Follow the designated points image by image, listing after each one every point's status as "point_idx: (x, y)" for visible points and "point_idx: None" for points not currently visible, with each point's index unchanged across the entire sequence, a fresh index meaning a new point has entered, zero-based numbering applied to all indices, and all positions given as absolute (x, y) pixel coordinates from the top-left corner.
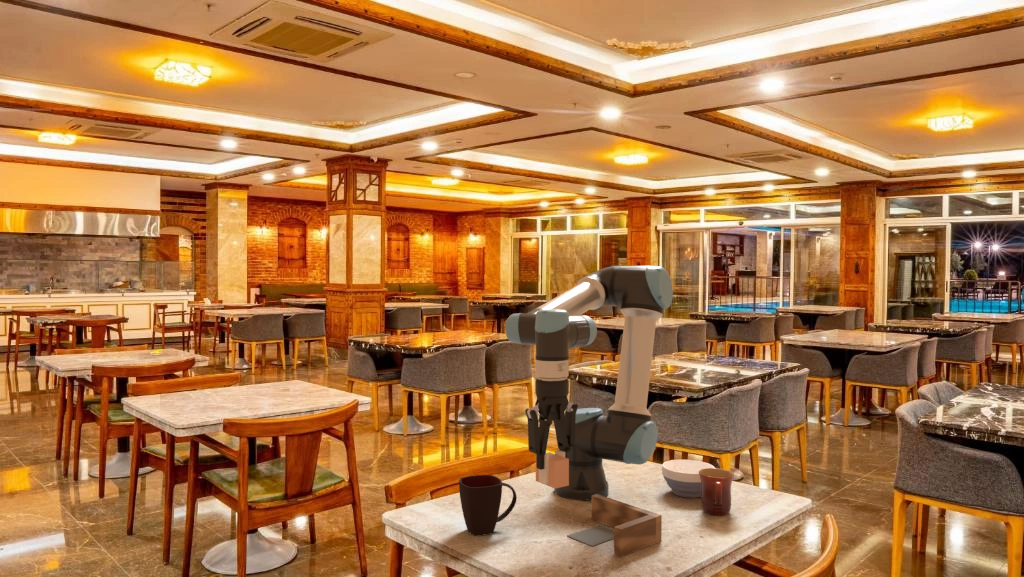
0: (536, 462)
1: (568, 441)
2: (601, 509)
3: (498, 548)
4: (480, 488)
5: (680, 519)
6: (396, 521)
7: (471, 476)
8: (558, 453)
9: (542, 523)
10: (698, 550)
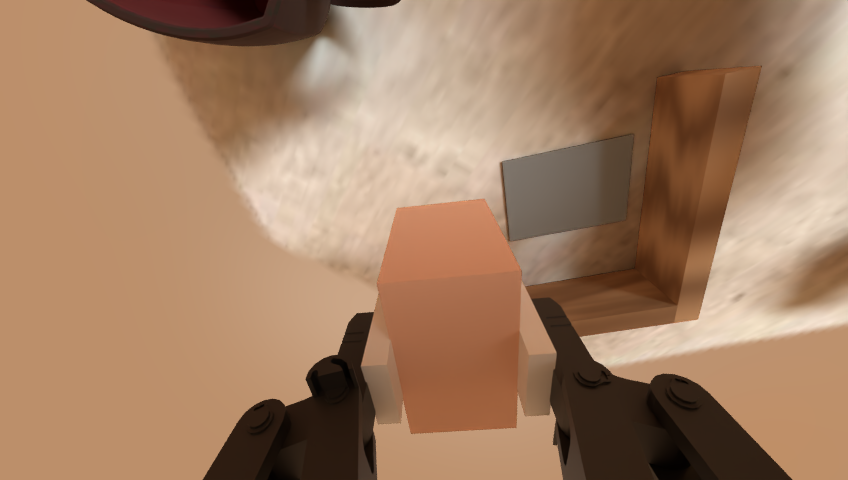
0: (343, 338)
1: (670, 451)
2: (683, 127)
3: (304, 147)
4: (143, 28)
5: (831, 202)
6: None
7: None
8: (521, 369)
9: (508, 23)
10: (660, 337)
